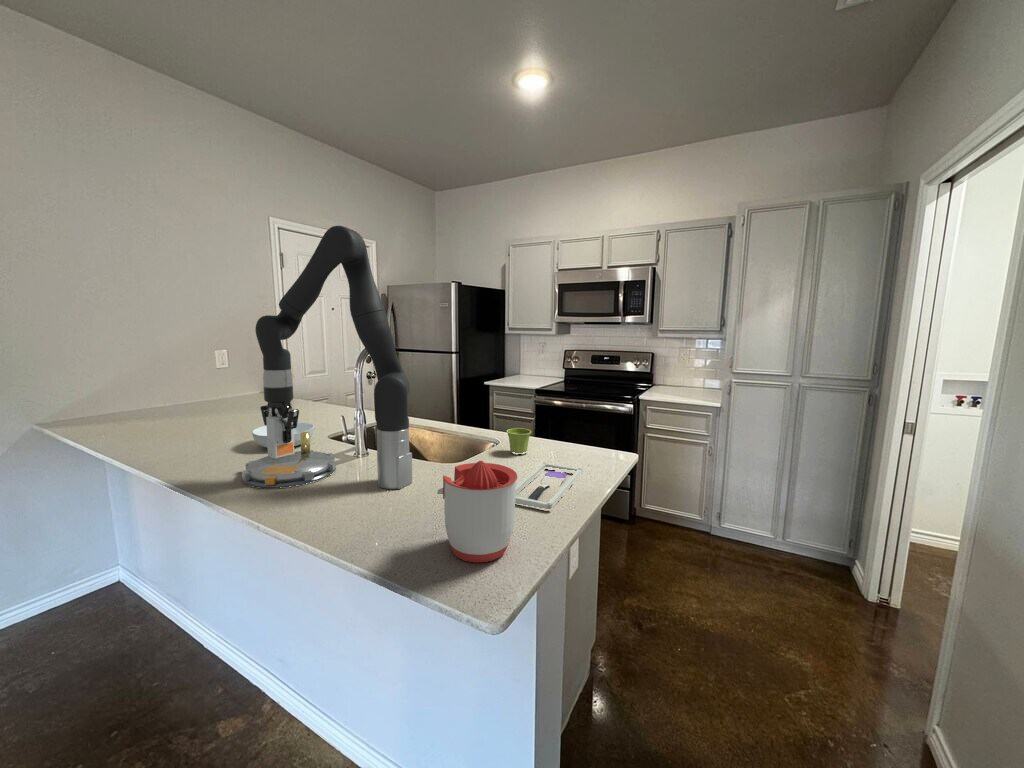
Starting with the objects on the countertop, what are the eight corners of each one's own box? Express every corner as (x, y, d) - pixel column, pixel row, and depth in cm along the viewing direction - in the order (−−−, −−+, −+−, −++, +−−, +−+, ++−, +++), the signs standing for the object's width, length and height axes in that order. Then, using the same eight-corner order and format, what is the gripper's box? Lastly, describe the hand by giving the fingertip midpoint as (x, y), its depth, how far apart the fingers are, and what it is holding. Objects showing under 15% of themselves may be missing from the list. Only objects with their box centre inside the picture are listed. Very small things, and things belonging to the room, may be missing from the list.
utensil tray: (581, 474, 138) (582, 469, 138) (550, 512, 110) (550, 505, 109) (543, 468, 144) (543, 462, 143) (504, 502, 115) (504, 495, 115)
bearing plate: (353, 467, 140) (353, 464, 139) (282, 495, 116) (282, 491, 116) (298, 455, 150) (298, 452, 150) (223, 478, 127) (223, 475, 126)
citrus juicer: (454, 526, 101) (454, 445, 98) (523, 538, 96) (526, 454, 93) (422, 560, 86) (421, 466, 84) (502, 576, 81) (504, 478, 79)
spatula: (538, 509, 112) (538, 500, 112) (515, 504, 115) (515, 495, 115) (567, 480, 134) (567, 473, 133) (547, 477, 137) (547, 469, 136)
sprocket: (348, 456, 147) (347, 431, 146) (317, 485, 120) (316, 454, 119) (270, 455, 145) (268, 430, 144) (221, 484, 119) (219, 453, 118)
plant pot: (501, 453, 158) (501, 431, 157) (515, 448, 166) (515, 426, 165) (521, 458, 153) (522, 435, 152) (535, 452, 161) (536, 430, 160)
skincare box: (275, 459, 122) (273, 418, 120) (267, 456, 124) (265, 416, 122) (295, 453, 127) (293, 415, 125) (287, 451, 129) (285, 413, 128)
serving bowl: (268, 438, 171) (267, 421, 170) (322, 438, 173) (321, 421, 172) (241, 454, 150) (240, 435, 149) (303, 453, 153) (302, 435, 152)
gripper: (306, 385, 123) (308, 441, 126) (273, 381, 129) (276, 435, 131) (283, 388, 116) (286, 448, 119) (249, 384, 122) (253, 441, 124)
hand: (281, 441), depth 125 cm, fingers closed on skincare box, 4 cm apart
